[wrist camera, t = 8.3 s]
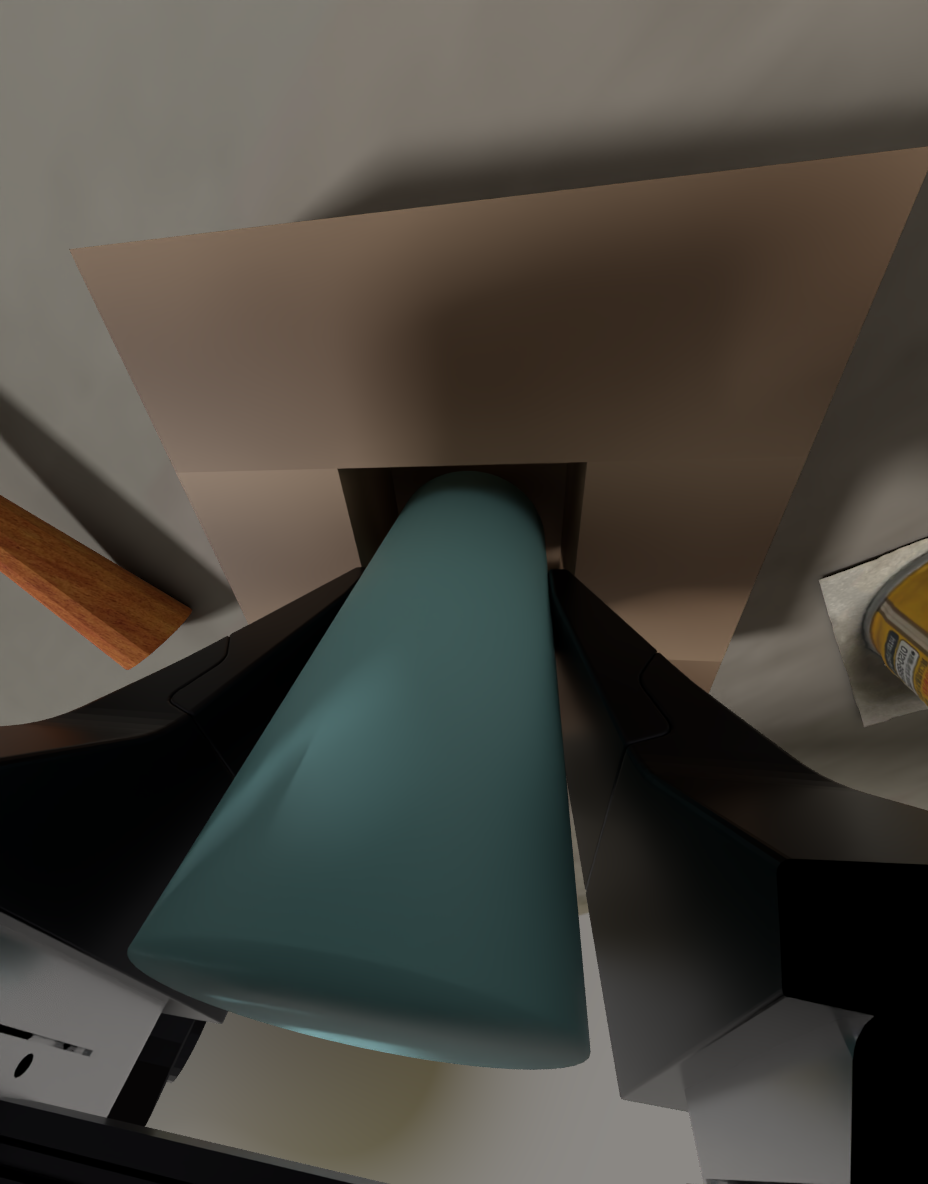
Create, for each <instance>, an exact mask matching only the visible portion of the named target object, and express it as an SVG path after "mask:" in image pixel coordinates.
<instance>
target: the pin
mask: <svg viewBox="0 0 928 1184" xmlns="http://www.w3.org/2000/svg"><path fill="white" fill-rule="evenodd" d="M127 956H128V958H129V960H130V961H131V962H132V963H133V964H134V965H135V966H136V967H137V968H138V969H139V970H141V971H142V972H143V973H145V974H146V975H148V976H149V977H151V978H153V979H155V980H156V981H158V982H160V983H162V984H164V985H166V986H168V987H170V988H172V989H174V990H176V991H178V992H181V993H183V994H185V995H187V996H190V997H192V998H195V999H197V1000H200V1001H202V1002H205V1003H207V1004H210V1005H213V1006H215V1007H218V1008H221V1009H224V1010H227V1011H230V1012H232V1013H236V1014H238V1015H242V1016H244V1017H248V1018H251V1019H254V1020H257V1021H260V1022H264V1023H267V1024H271V1025H274V1026H277V1027H281V1028H285V1029H288V1030H292V1031H295V1032H299V1033H303V1034H307V1035H310V1036H314V1037H319V1038H322V1039H327V1040H331V1041H335V1042H339V1043H343V1044H348V1045H352V1046H357V1047H362V1048H366V1049H371V1050H376V1051H382V1052H386V1053H391V1054H397V1055H403V1056H408V1057H413V1058H420V1059H426V1060H432V1061H439V1062H446V1063H453V1064H461V1065H470V1066H479V1067H491V1068H505V1069H530V1070H531V1069H533V1070H535V1069H556V1068H565V1067H570V1066H575V1065H577V1064H580V1063H583V1062H584V1061H585V1060H587V1059H588V1058H589V1056H590V1041H589V1030H588V1019H587V1008H586V996H585V987H584V973H583V963H582V951H581V940H580V928H579V917H578V906H577V894H576V883H575V872H574V861H573V849H572V838H571V827H570V816H569V804H568V793H567V782H566V770H565V759H564V748H563V737H562V725H561V714H560V703H559V692H558V680H557V669H556V658H555V646H554V635H553V624H552V614H551V604H550V593H549V581H548V568H547V556H546V545H545V534H544V528H543V524H542V521H541V518H540V516H539V514H538V511H537V509H536V508H535V506H534V505H533V503H532V502H531V500H530V499H529V498H528V497H527V496H526V495H525V494H524V493H523V492H522V491H521V490H520V489H518V488H517V487H516V486H515V485H513V484H511V483H510V482H508V481H507V480H504V479H502V478H500V477H498V476H495V475H492V474H489V473H484V472H478V471H457V472H452V473H447V474H444V475H441V476H439V477H436V478H434V479H432V480H430V481H429V482H427V483H426V484H424V485H423V486H421V487H420V488H419V489H418V490H417V491H416V492H415V493H414V494H413V495H412V497H411V498H410V499H409V501H408V502H407V504H406V505H405V507H404V508H403V510H402V512H401V513H400V515H399V516H398V518H397V520H396V521H395V523H394V524H393V526H392V528H391V529H390V531H389V532H388V534H387V536H386V537H385V539H384V540H383V542H382V544H381V545H380V547H379V548H378V550H377V552H376V553H375V555H374V556H373V558H372V559H371V561H370V563H369V564H368V566H367V567H366V569H365V571H364V572H363V574H362V575H361V577H360V579H359V580H358V582H357V583H356V585H355V587H354V588H353V590H352V591H351V593H350V595H349V596H348V598H347V599H346V601H345V603H344V604H343V606H342V607H341V609H340V611H339V612H338V614H337V615H336V617H335V619H334V620H333V622H332V623H331V625H330V627H329V628H328V630H327V631H326V633H325V635H324V636H323V638H322V639H321V641H320V643H319V644H318V646H317V647H316V649H315V651H314V652H313V654H312V655H311V657H310V658H309V660H308V662H307V663H306V665H305V666H304V668H303V670H302V671H301V673H300V674H299V676H298V678H297V679H296V681H295V682H294V684H293V686H292V687H291V689H290V690H289V692H288V694H287V695H286V697H285V698H284V700H283V702H282V703H281V705H280V706H279V708H278V710H277V711H276V713H275V714H274V716H273V718H272V719H271V721H270V722H269V724H268V726H267V727H266V729H265V730H264V732H263V734H262V735H261V737H260V738H259V740H258V742H257V743H256V745H255V746H254V748H253V750H252V751H251V753H250V754H249V756H248V757H247V759H246V761H245V762H244V764H243V765H242V767H241V769H240V770H239V772H238V773H237V775H236V777H235V778H234V780H233V781H232V783H231V785H230V786H229V788H228V789H227V791H226V793H225V794H224V796H223V797H222V799H221V801H220V802H219V804H218V805H217V807H216V809H215V810H214V812H213V813H212V815H211V817H210V818H209V820H208V821H207V823H206V825H205V826H204V828H203V829H202V831H201V833H200V834H199V836H198V837H197V839H196V841H195V842H194V844H193V845H192V847H191V849H190V850H189V852H188V853H187V855H186V856H185V858H184V860H183V861H182V863H181V864H180V866H179V868H178V869H177V871H176V872H175V874H174V876H173V877H172V879H171V880H170V882H169V884H168V885H167V887H166V888H165V890H164V892H163V893H162V895H161V896H160V898H159V900H158V901H157V903H156V904H155V906H154V908H153V909H152V911H151V912H150V914H149V916H148V917H147V919H146V920H145V922H144V924H143V925H142V927H141V928H140V930H139V932H138V933H137V935H136V936H135V938H134V940H133V941H132V943H131V944H130V946H129V948H128V951H127Z"/></svg>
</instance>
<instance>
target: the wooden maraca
mask: <svg viewBox="0 0 928 1184" xmlns="http://www.w3.org/2000/svg"><path fill="white" fill-rule="evenodd" d="M0 571H1V572H2V573H3V574H5V575H6V576H7V577H9V578H10V579H11V580H12V581H14V582H15V583H16V584H17V585H19V586H20V587H21V588H23V589H24V590H25V591H26V592H28V593H29V594H30V595H32V596H33V597H34V598H35V599H37V600H38V601H39V602H40V603H42V604H43V605H44V606H46V607H47V608H48V609H49V610H51V611H52V612H53V613H55V614H56V615H57V616H58V617H60V618H61V619H62V620H63V621H65V622H66V623H67V624H69V625H70V626H71V627H72V628H74V629H75V630H76V631H77V632H79V633H80V634H81V635H83V636H84V637H85V638H86V639H88V640H89V641H90V642H92V643H93V644H94V645H95V646H97V647H98V648H99V649H100V650H102V651H103V652H104V653H106V654H107V655H108V656H109V657H111V658H112V659H113V660H115V661H116V662H117V663H118V664H120V665H121V666H122V667H123V668H125V669H126V670H129V669H131V668H132V667H134V666H136V665H137V664H139V663H140V662H141V661H142V660H144V659H145V658H146V657H148V656H149V655H150V654H151V653H152V652H154V651H155V650H156V649H157V648H158V647H159V646H160V645H161V644H163V643H164V642H165V641H166V640H167V639H168V638H169V637H170V636H171V635H172V634H173V633H174V632H175V631H176V630H177V629H178V628H179V627H180V626H181V625H182V624H183V623H184V621H185V620H186V619H187V618H188V617H189V615H190V614H191V612H192V609H191V608H189V607H187V606H186V605H184V604H182V603H180V602H179V601H177V600H175V599H174V598H172V597H170V596H169V595H167V594H165V593H164V592H162V591H160V590H159V589H157V588H155V587H154V586H152V585H150V584H149V583H147V582H145V581H144V580H142V579H140V578H139V577H137V576H135V575H134V574H132V573H130V572H128V571H127V570H125V569H123V568H122V567H120V566H118V565H117V564H115V563H113V562H112V561H110V560H108V559H107V558H105V557H103V556H102V555H100V554H98V553H97V552H95V551H93V550H92V549H90V548H88V547H87V546H85V545H83V544H82V543H80V542H78V541H76V540H75V539H73V538H71V537H70V536H68V535H66V534H65V533H63V532H61V531H60V530H58V529H56V528H55V527H53V526H51V525H50V524H48V523H46V522H45V521H43V520H41V519H40V518H38V517H36V516H35V515H33V514H31V513H30V512H28V511H26V510H24V509H23V508H21V507H19V506H18V505H16V504H14V503H13V502H11V501H9V500H8V499H6V498H4V497H3V496H1V495H0Z"/></svg>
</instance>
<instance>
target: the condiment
mask: <svg viewBox="0 0 928 1184" xmlns="http://www.w3.org/2000/svg"><path fill="white" fill-rule="evenodd" d="M819 582H820V586H821V589H822V592H823V596H824V600H825V603H826V607H827V611H828V614H829V618H830V621H831V623H832V625H833V631H834V635H835V638H836V641H837V644H838V646H839V651H840V654H841V656H842V659H843V663H844V666H845V668H846V670H847V672H848V675H849V678H850V684H851V687H852V690H853V695H854V698H855V701H856V704H857V706H858V708H859V711H860V714H861V718H862V721H863V725H864V727H867V726H870V725H873V724H877V723H881V722H885V721H888V720H889V719H891V718H893V717H897V716H903V715H906V714H909V713H913V712H917V711H920V710H926V709H928V538H927V539H924V540H921V541H918V542H916V543H913V544H911V545H908V546H905V547H902V548H900V549H898V550H896V551H894V552H892V553H889V554H886V555H883V556H881V557H880V558H878V559H877V560H874V561H871V562H867V563H864V564H862V565H859V566H857V567H854V568H852V569H849V570H846V571H843V572H841V573H838V574H835V575H832V576H829V577H826V578H823V579H820V580H819ZM884 664H886V666H885V665H884Z"/></svg>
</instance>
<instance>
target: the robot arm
mask: <svg viewBox="0 0 928 1184" xmlns="http://www.w3.org/2000/svg"><path fill="white" fill-rule="evenodd" d="M365 569H366V567H356V568H354V569H352V570H350V571H348V572H347V573H345V574H343V575H341V576H339V577H337V578H335V579H333V580H332V581H330V582H328V583H326V584H324V585H322V586H320V587H318V588H317V589H315V590H313V591H311V592H309V593H307V594H305V595H303V596H302V597H300V598H298V599H296V600H294V601H292V602H290V603H288V604H287V605H285V606H283V607H281V608H279V609H277V610H275V611H273V612H272V613H270V614H268V615H266V616H264V617H262V618H260V619H258V620H257V621H255V622H253V623H251V624H249V625H247V626H245V627H243V628H241V629H240V630H238V631H236V632H234V633H232V634H231V635H230V637H229V636H226V637H224V638H223V639H221V640H219V641H217V642H215V643H213V644H211V645H209V646H207V647H206V648H204V649H202V650H200V651H198V652H196V653H194V654H192V655H190V656H188V657H186V658H184V659H182V660H180V661H178V662H176V663H174V664H172V665H169V666H167V667H165V668H163V669H161V670H159V671H157V672H155V673H153V674H151V675H149V676H146V677H144V678H142V679H140V680H138V681H136V682H134V683H131V684H129V685H127V686H125V687H123V688H121V689H119V690H116V691H114V692H112V693H110V694H108V695H106V696H104V697H101V698H99V699H97V700H95V701H93V702H91V703H89V704H86V705H84V706H82V707H80V708H78V709H75V710H73V711H70V712H68V713H65V714H62V715H59V716H56V717H53V718H49V719H46V720H42V721H38V722H33V723H27V724H21V725H12V726H0V1184H387V1183H383V1182H379V1181H375V1180H370V1179H366V1178H362V1177H358V1176H353V1175H349V1174H345V1173H340V1172H336V1171H332V1170H328V1169H323V1168H319V1167H314V1166H310V1165H306V1164H302V1163H298V1162H294V1161H289V1160H285V1159H281V1158H276V1157H272V1156H268V1155H264V1154H259V1153H255V1152H251V1151H247V1150H242V1149H238V1148H234V1147H229V1146H225V1145H221V1144H216V1143H212V1142H208V1141H204V1140H200V1139H195V1138H191V1137H187V1136H183V1135H178V1134H174V1133H170V1132H165V1131H161V1130H157V1129H152V1128H148V1127H145V1125H146V1124H147V1122H148V1120H149V1118H150V1116H151V1114H152V1112H153V1109H154V1107H155V1105H156V1103H157V1101H158V1099H159V1097H160V1095H161V1093H162V1090H163V1088H164V1086H165V1084H166V1082H170V1083H172V1082H173V1081H174V1080H175V1079H176V1078H177V1076H178V1075H179V1073H180V1072H181V1070H182V1068H183V1067H184V1065H185V1064H186V1062H187V1060H188V1058H189V1056H190V1055H191V1052H192V1051H193V1049H194V1047H195V1045H196V1043H197V1041H198V1039H199V1037H200V1035H201V1032H202V1030H203V1028H204V1026H205V1024H206V1021H207V1022H213V1023H218V1024H222V1023H223V1021H224V1019H225V1017H226V1015H227V1013H228V1011H227V1010H224V1009H221V1008H218V1007H215V1006H213V1005H210V1004H207V1003H205V1002H202V1001H200V1000H197V999H195V998H192V997H190V996H187V995H185V994H183V993H181V992H178V991H176V990H174V989H172V988H170V987H168V986H166V985H164V984H162V983H160V982H158V981H156V980H155V979H153V978H151V977H149V976H148V975H146V974H145V973H143V972H142V971H141V970H139V969H138V968H137V967H136V966H135V965H134V964H133V963H132V962H131V961H130V960H129V958H128V956H127V951H128V948H129V946H130V944H131V943H132V941H133V940H134V938H135V936H136V935H137V933H138V932H139V930H140V928H141V927H142V925H143V924H144V922H145V920H146V919H147V917H148V916H149V914H150V912H151V911H152V909H153V908H154V906H155V904H156V903H157V901H158V900H159V898H160V896H161V895H162V893H163V892H164V890H165V888H166V887H167V885H168V884H169V882H170V880H171V879H172V877H173V876H174V874H175V872H176V871H177V869H178V868H179V866H180V864H181V863H182V861H183V860H184V858H185V856H186V855H187V853H188V852H189V850H190V849H191V847H192V845H193V844H194V842H195V841H196V839H197V837H198V836H199V834H200V833H201V831H202V829H203V828H204V826H205V825H206V823H207V821H208V820H209V818H210V817H211V815H212V813H213V812H214V810H215V809H216V807H217V805H218V804H219V802H220V801H221V799H222V797H223V796H224V794H225V793H226V791H227V789H228V788H229V786H230V785H231V783H232V781H233V780H234V778H235V777H236V775H237V773H238V772H239V770H240V769H241V767H242V765H243V764H244V762H245V761H246V759H247V757H248V756H249V754H250V753H251V751H252V750H253V748H254V746H255V745H256V743H257V742H258V740H259V738H260V737H261V735H262V734H263V732H264V730H265V729H266V727H267V726H268V724H269V722H270V721H271V719H272V718H273V716H274V714H275V713H276V711H277V710H278V708H279V706H280V705H281V703H282V702H283V700H284V698H285V697H286V695H287V694H288V692H289V690H290V689H291V687H292V686H293V684H294V682H295V681H296V679H297V678H298V676H299V674H300V673H301V671H302V670H303V668H304V666H305V665H306V663H307V662H308V660H309V658H310V657H311V655H312V654H313V652H314V651H315V649H316V647H317V646H318V644H319V643H320V641H321V639H322V638H323V636H324V635H325V633H326V631H327V630H328V628H329V627H330V625H331V623H332V622H333V620H334V619H335V617H336V615H337V614H338V612H339V611H340V609H341V607H342V606H343V604H344V603H345V601H346V599H347V598H348V596H349V595H350V593H351V591H352V590H353V588H354V587H355V585H356V583H357V582H358V580H359V579H360V577H361V575H362V574H363V572H364V571H365ZM548 581H549V593H550V604H551V614H552V624H553V635H554V646H555V658H556V669H557V680H558V692H559V703H560V714H561V725H562V737H563V748H564V759H565V770H566V777H567V783H568V789H569V795H570V801H571V807H572V813H573V819H574V825H575V831H576V837H577V843H578V849H579V855H580V861H581V867H582V873H583V879H584V885H585V889H586V890H587V891H586V897H587V903H588V909H589V915H590V921H591V927H592V933H593V939H594V944H595V951H596V956H597V962H598V968H599V974H600V980H601V986H602V992H603V998H604V1004H605V1010H606V1016H607V1022H608V1027H609V1033H610V1040H611V1045H612V1051H613V1057H614V1062H615V1069H616V1075H617V1081H618V1086H619V1092H620V1097H621V1099H623V1100H628V1101H633V1102H639V1103H644V1104H649V1105H655V1106H660V1107H665V1108H670V1109H676V1110H681V1111H686V1112H689V1115H690V1121H691V1126H692V1130H693V1135H694V1140H695V1145H696V1150H697V1155H698V1160H699V1164H700V1169H701V1174H702V1179H703V1184H928V811H927V810H924V809H920V808H916V807H913V806H909V805H906V804H902V803H899V802H895V801H892V800H888V799H885V798H881V797H878V796H874V795H871V794H867V793H864V792H861V791H858V790H854V789H852V788H849V787H847V786H844V785H842V784H839V783H837V782H834V781H832V780H830V779H828V778H826V777H824V776H822V775H820V774H819V773H817V772H815V771H814V770H812V769H810V768H809V767H807V766H805V765H804V764H802V763H801V762H800V761H798V760H797V759H795V758H794V757H792V756H791V755H790V754H788V753H787V752H786V751H784V750H783V749H782V748H780V747H779V746H778V745H776V744H775V743H773V742H772V741H771V740H769V739H768V738H767V737H765V736H764V735H763V734H761V733H760V732H759V731H757V730H756V729H755V728H753V727H752V726H751V725H749V724H748V723H747V722H745V721H744V720H743V719H741V718H740V717H739V716H737V715H736V714H735V713H733V712H732V711H731V710H729V709H728V708H727V707H725V706H724V705H723V704H721V703H720V702H719V701H717V700H716V699H715V698H713V697H712V696H711V695H710V694H708V693H707V692H706V691H704V690H703V689H702V688H701V687H699V686H698V685H697V684H695V683H694V682H693V681H692V680H691V679H689V678H688V677H687V676H686V675H685V674H684V673H682V672H681V671H680V670H679V669H678V668H677V667H675V666H674V665H673V664H672V663H671V662H670V661H669V660H668V659H666V658H665V657H664V656H663V655H662V654H661V653H657V650H656V649H655V648H654V647H653V646H652V645H651V644H650V643H649V642H647V641H646V640H645V639H644V638H643V637H642V636H641V635H640V634H639V633H637V632H636V631H635V630H634V629H633V628H632V627H631V626H630V625H629V624H627V623H626V622H625V621H624V620H623V619H622V618H621V617H620V616H619V615H618V614H616V613H615V612H614V611H613V610H612V609H611V608H610V607H609V606H608V605H606V604H605V603H604V602H603V601H602V600H601V599H600V598H599V597H598V596H596V595H595V594H594V593H593V592H592V591H591V590H590V589H589V588H588V587H586V586H585V585H584V584H583V583H582V582H581V581H580V580H579V579H578V578H577V577H575V576H574V575H573V574H572V573H571V572H570V571H569V570H567V569H551V570H549V572H548ZM687 1184H688V1183H687Z"/></svg>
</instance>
